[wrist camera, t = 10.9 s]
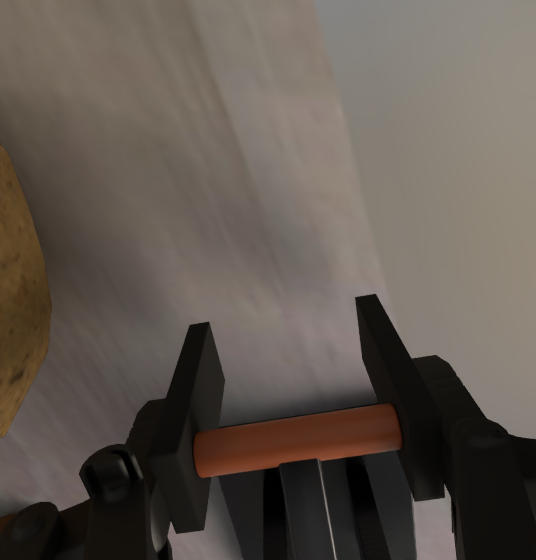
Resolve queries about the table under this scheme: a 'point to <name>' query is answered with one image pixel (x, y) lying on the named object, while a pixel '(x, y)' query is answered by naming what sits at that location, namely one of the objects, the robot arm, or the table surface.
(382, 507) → the bracket
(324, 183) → the table surface
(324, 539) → the lever
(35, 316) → the potato
